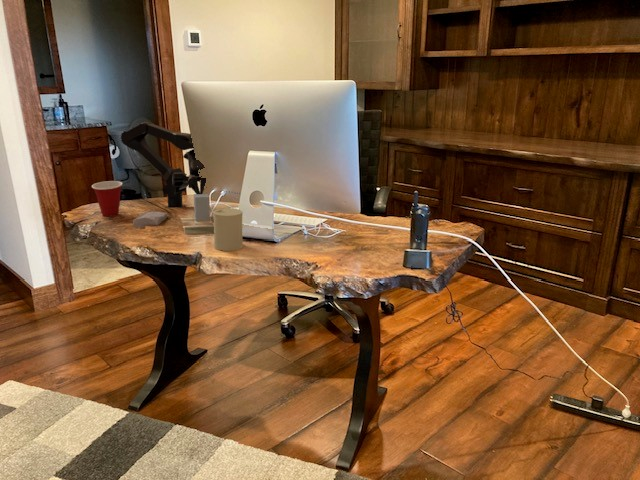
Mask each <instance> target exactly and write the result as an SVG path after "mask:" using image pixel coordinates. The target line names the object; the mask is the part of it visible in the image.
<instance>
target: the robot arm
mask: <svg viewBox="0 0 640 480" xmlns="http://www.w3.org/2000/svg"><path fill="white" fill-rule="evenodd" d="M191 134H192V133H188V132H187V133H186V132H178V131H174V130H170V129H169V128H166V127H163V126H159V125H156V124H154V123H152V122H150V121H146V122H145V121H144V122H141V123H139V124H138V125H136V126H135V127H133V128H131V129H129V130H125V131H122V133H121V134H120V142H121V143H122V144H123V145H124V146H126V147H127V148H128V149H130V150H132V151H135V152H137V153H138V154H139V155H141V157H143V159H145V160H146V161H147V162H148V163H149V164H150V165H151V166H152V167H153V168H154V169H155V170H157V172H159V174H160V175H162V177H163V179H164V182H165V185H164V186H163V188H162V193H163V194H164V195H166V196H167V206H165V207H164V208H165V209H168V208H169V209H170V208H186V207H187V205H186V204H183V193H184V192H186V191H187V188H189V189H192V191H194V193H195V194H204V191H205V189H204V186H205V183H206V178H201V177H202V176H201V177H199V174H198V170H199V169H200V170H201V169H203V168H205V167H204V165H203V164H202V163H201V162H200V161H199V160H196V158H195V153H194V149H195V148H194V147H193V143H192V138H191ZM148 135H149V136H153V137H156V138H158V139H161V140H164V141H166V142H169V143H171V144H172V145H173V146H174V147H176V148H177V149H179V150H181V151H186V152H185V153H184V154H183V156H182V157H183V158H184V159H185V160H187V161H188V170H189V171H188V172H189V175H187V173H185V172H184V171H183V170H182V168H180V167H178V168H173V167H172V166H170V165H169V164H168V162H166V161H165V160H164V159H163V158H162V156H160V155H159V154H158V153H157V152H156V151H155V150H154V149H153V148H152V147H151V146H150V145H149V144H148V142H147V139H146V137H147V136H148ZM187 150H188V151H187ZM197 166H198V167H197ZM199 173H200V172H199ZM200 180H201V184H200V185H199V183H200Z"/></svg>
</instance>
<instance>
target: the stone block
mask: <svg viewBox="0 0 640 480" xmlns="http://www.w3.org/2000/svg"><path fill="white" fill-rule="evenodd" d="M167 218H168V214H167V212H161V211H148V212H143V213H141V214H139V215H138V216H137V217H136V218H134V219H133V220H132V222H133V223H132V224H133V226H134V227H135V229H137V228H138V229H146V226H147V225H148V226H149V225H150V226H159V225H160V224H162V222H164V220H166V219H167Z"/></svg>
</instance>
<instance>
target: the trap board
mask: <svg viewBox="0 0 640 480" xmlns="http://www.w3.org/2000/svg"><path fill="white" fill-rule="evenodd" d="M211 219H214V215H213V216H210V221H200V222H196V221H195V217H194V216H192V217H180V221H181V223H194V224H195V225H183V226H182V228H183V233H184V234H185V235H190V234H206V233H207V234H209V233H210V234H211V233H214V221H212V220H211ZM212 236H213V237H214V234H212V235H207V237H212ZM195 237H199V235H195V236H190V238H195Z"/></svg>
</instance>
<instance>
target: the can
mask: <svg viewBox="0 0 640 480" xmlns="http://www.w3.org/2000/svg"><path fill="white" fill-rule="evenodd" d="M243 212H244V211H243V210H241V209H237V208H231V207H230V208H228V207H227V208H225V207H224V208H219V209H215V210H213V216H214V218H213V222H214V232H213V235H214V236H213V239H214V240H213V242H214V243H213V247H214V249H215V250H217V249H218V250H217V251H221V250H223V251H222V252H234V251H238V250H241V249H242V248H243V247H244V243H243V242H244V241H243Z"/></svg>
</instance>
